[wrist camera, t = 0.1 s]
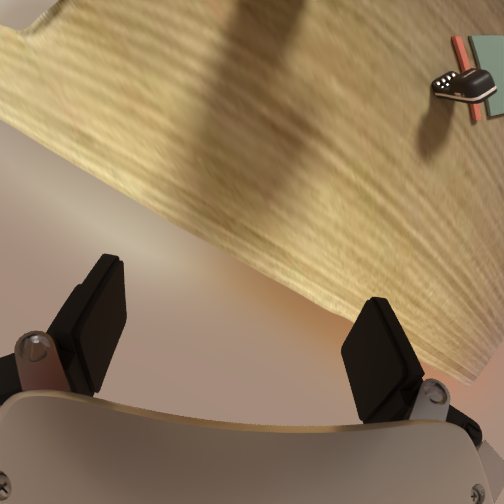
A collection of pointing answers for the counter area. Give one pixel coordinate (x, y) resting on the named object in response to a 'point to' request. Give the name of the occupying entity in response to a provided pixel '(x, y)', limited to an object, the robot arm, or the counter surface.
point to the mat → (491, 67)
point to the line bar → (464, 67)
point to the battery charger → (465, 86)
